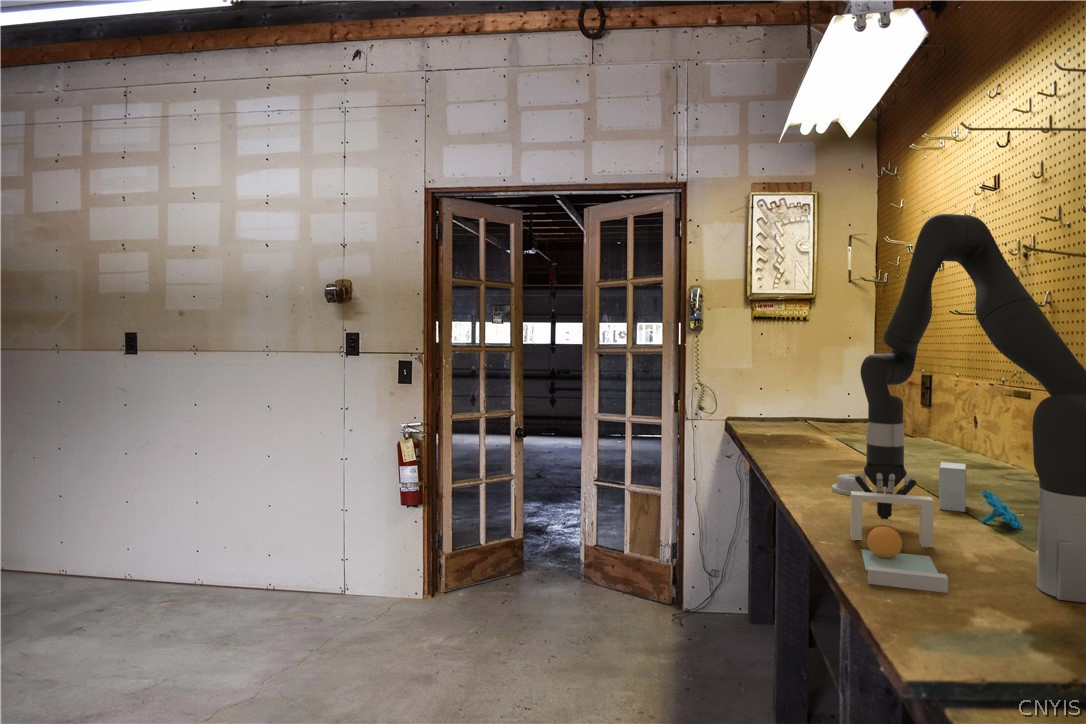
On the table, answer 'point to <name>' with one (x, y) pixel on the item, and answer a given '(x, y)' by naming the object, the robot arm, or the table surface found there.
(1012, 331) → the robot arm
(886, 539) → the ball
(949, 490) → the small box
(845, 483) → the mechanical component
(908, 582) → the stopper wall
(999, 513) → the blue branched figurine
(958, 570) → the table surface
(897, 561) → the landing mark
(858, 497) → the bridge
